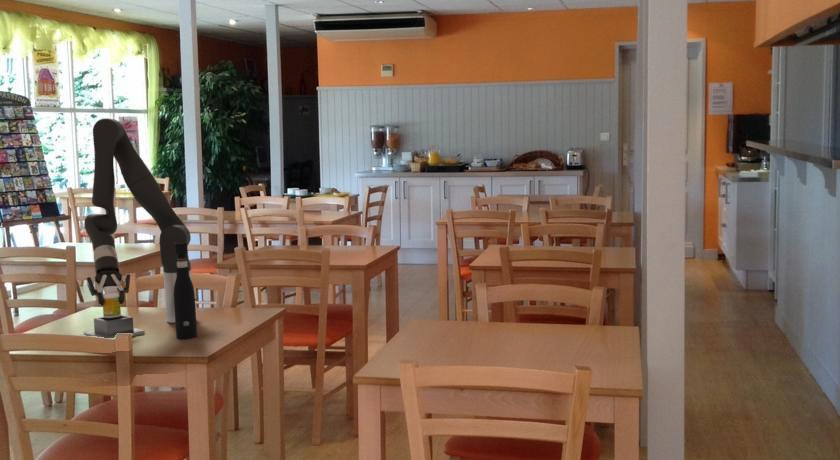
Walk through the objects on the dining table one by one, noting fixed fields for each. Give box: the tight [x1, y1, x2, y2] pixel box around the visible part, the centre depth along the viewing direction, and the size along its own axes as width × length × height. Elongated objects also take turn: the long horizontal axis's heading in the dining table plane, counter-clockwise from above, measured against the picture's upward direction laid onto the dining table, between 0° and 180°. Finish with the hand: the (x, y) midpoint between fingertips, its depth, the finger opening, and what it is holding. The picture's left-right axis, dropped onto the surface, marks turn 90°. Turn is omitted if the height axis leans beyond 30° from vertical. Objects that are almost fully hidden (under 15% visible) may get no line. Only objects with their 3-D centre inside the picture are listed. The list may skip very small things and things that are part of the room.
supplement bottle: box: [102, 286, 122, 318], centre depth 317 cm, size 5×5×10 cm
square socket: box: [83, 314, 146, 338], centre depth 318 cm, size 14×14×6 cm
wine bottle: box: [174, 242, 198, 340], centre depth 309 cm, size 6×6×30 cm
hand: (112, 303), depth 315 cm, fingers closed on supplement bottle, 5 cm apart
